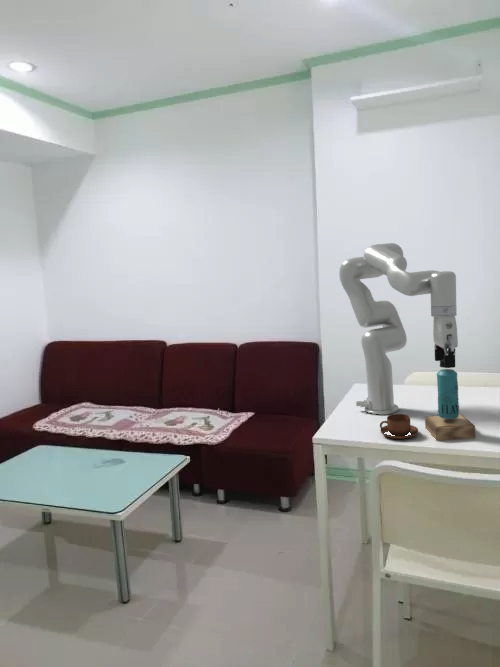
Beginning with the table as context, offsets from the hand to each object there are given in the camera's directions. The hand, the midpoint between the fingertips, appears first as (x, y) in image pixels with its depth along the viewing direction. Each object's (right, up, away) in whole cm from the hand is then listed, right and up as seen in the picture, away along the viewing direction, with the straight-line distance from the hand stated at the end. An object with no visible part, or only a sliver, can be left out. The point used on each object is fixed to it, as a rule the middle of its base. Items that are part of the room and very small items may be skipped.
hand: (444, 363), depth 164 cm
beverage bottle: (+2, -19, +2) cm, 19 cm away
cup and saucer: (-13, -24, +5) cm, 28 cm away
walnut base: (+2, -23, +3) cm, 23 cm away
